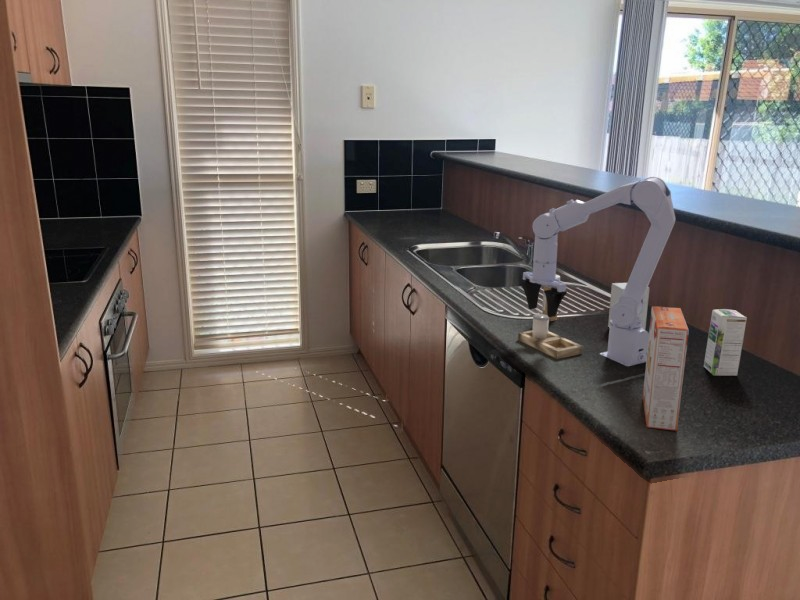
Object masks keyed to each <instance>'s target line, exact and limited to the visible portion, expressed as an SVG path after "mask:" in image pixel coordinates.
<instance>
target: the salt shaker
mask: <svg viewBox="0 0 800 600" xmlns="http://www.w3.org/2000/svg"><path fill="white" fill-rule="evenodd" d="M549 323H550V321H549V317H548V315H544V314H542V313H536V314H534V315H532V337H533V338H536V339H538V340H541V339H546V338H548V331H549Z"/></svg>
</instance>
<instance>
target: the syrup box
mask: <svg viewBox="0 0 800 600" xmlns="http://www.w3.org/2000/svg"><path fill="white" fill-rule="evenodd" d="M747 319H748V318H747V316H745V315H743V314H741V312H739V311H737V310H734V309H727V308H721V309H712V312H711V318H710V323H709V324H710V325H709V330H708V336H707V342H706V348H705V355H704V362H703V368H705V369H706V370H707V372H709V373H710V374H711V375H712V376H718V377H721V376H725V377H727V376H729V377H731V376H733V377H734V376H738V374H739V372H738V371H739V367H740V361H741V355H742V348H743V343H744V337H745V331H746V325H747Z"/></svg>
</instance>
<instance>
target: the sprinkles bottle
mask: <svg viewBox="0 0 800 600" xmlns="http://www.w3.org/2000/svg"><path fill="white" fill-rule="evenodd" d="M556 278H557V279H558V280H560V281H561V276H560V275H559V274H556ZM545 290H551V288H549V287H546V286H543V292H542V293H543V294H542V307H541V308H542V310H541V311H542V312H541V314H544V315H548V314H547V299H546V295H545V293H544V291H545ZM557 320H558V312H557V313H556V316H554V317H549V322H552V321H557Z"/></svg>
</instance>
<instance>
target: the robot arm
mask: <svg viewBox="0 0 800 600" xmlns="http://www.w3.org/2000/svg"><path fill="white" fill-rule="evenodd" d="M617 204H624V205H629V206H631V205H633V204H634V205H636V207H638V208H639V209H640V211H642V212H643V213H645V215H646V217H647V219H648V221H649V222H650V227H649V229H648V232H647V233H646V236H645V239H644V241H643V244H642V246H641V249H640V251H639V253H638V255H637V259H636V260H635V263H634V265H633V268H632V271H631V273H630V276H629V277H628V280H627V282H626V283H627V285H626V287H625V289H624V291H623V293H622V295H621V297H620V298H619V299H618V301H617V303H616V304H615V305H613V307H612V308H611V310H610V309H609V310H610V317H611V320H610V328H609V331H608V332H609V333H608V342H607V351H604V352H600V353H599V355H600V356H603V357H606V358H608V359H610V360H612V361H615V362H617V363H619V364H621V365H623V366H625V367H630V366H631V367H632V366H635V365H639V364H644V363H646V360H647V350H648V341H649V331H647V330H646V329H645V330H644V329H643V328H642V326H641V324H642V323H641V321H640V319H639V317H638V316H639V315H640V314H641V313H642V311H643V308H644V304H643V298H644V296H645V293H646V289H647V287H649V285H650V282H651V280H652V277H653V275H654V273H655V270H656V268H657V265H658V263H659V261H660V259H661V256H662V255H663V251H664V249H665V247H666V245H667V242H668V240H669V237H670V235H671V233H672V230H673V228H674V226H675V223H676V220H677V219H676V214H675V209H674V206H673V200H672V191H671V190H670V188H669V187H668V184H666V182H665V181H664V180H663V179H662V178H660V177H658V176H649V177H647V178H644V179H643V180H637V181H634V182H629V183H626V184H623V185H621V186H618V187H616V188H614V189H611V190H609V191H608V192H605V193H603V194H600V195H599V196H596V197H594V198H592V199H590V200H587V201H582V200H580V199H576V200H574V199H570V200H568V201H566V204H564V205H562V206H560V207H558V208H554V207H552V208H550V209H549V211H548V212H545V213H542V214H540V215H539V216H537V217H536V218H535V219H534V220H533V222H532V231H533V233H534V244H533V245H534V246H533V262H532V265H533V266H532V271H525V272H522V280H524V281H522V282H521V283H520V284H521V285H520V286H521V288H522V289H523V291H524V295H525V297H526V301H527V307H528V309H529V310H534V309H535V310H536V309H537V308H538V303H539V302H538V301H539V294H540V290H541V287H542V286H543V287H544V286H546V287H549V288H551V290H545V291H544V290H543V292H544V293H545V295H546V299H547V314H548V317H554V316H556V313H557V314H558V310H559V308H560V304H561V302H562V300H563V299H564V297H565V296H566V295H567V283H564V282H563V281H561V279H560V280H558V279H557V278H556V275H557V259H558V246H559V245H558V236H559V233H560V232H565V231H567V230H569V229H571V228H574V227H577V226H579V225H581V224H584V223H587V221H588V219H589V217H590V215H591V214H594V213H596V212H599V211H601V210H604V209H606V208H610V207H612V206H615V205H617Z"/></svg>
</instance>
